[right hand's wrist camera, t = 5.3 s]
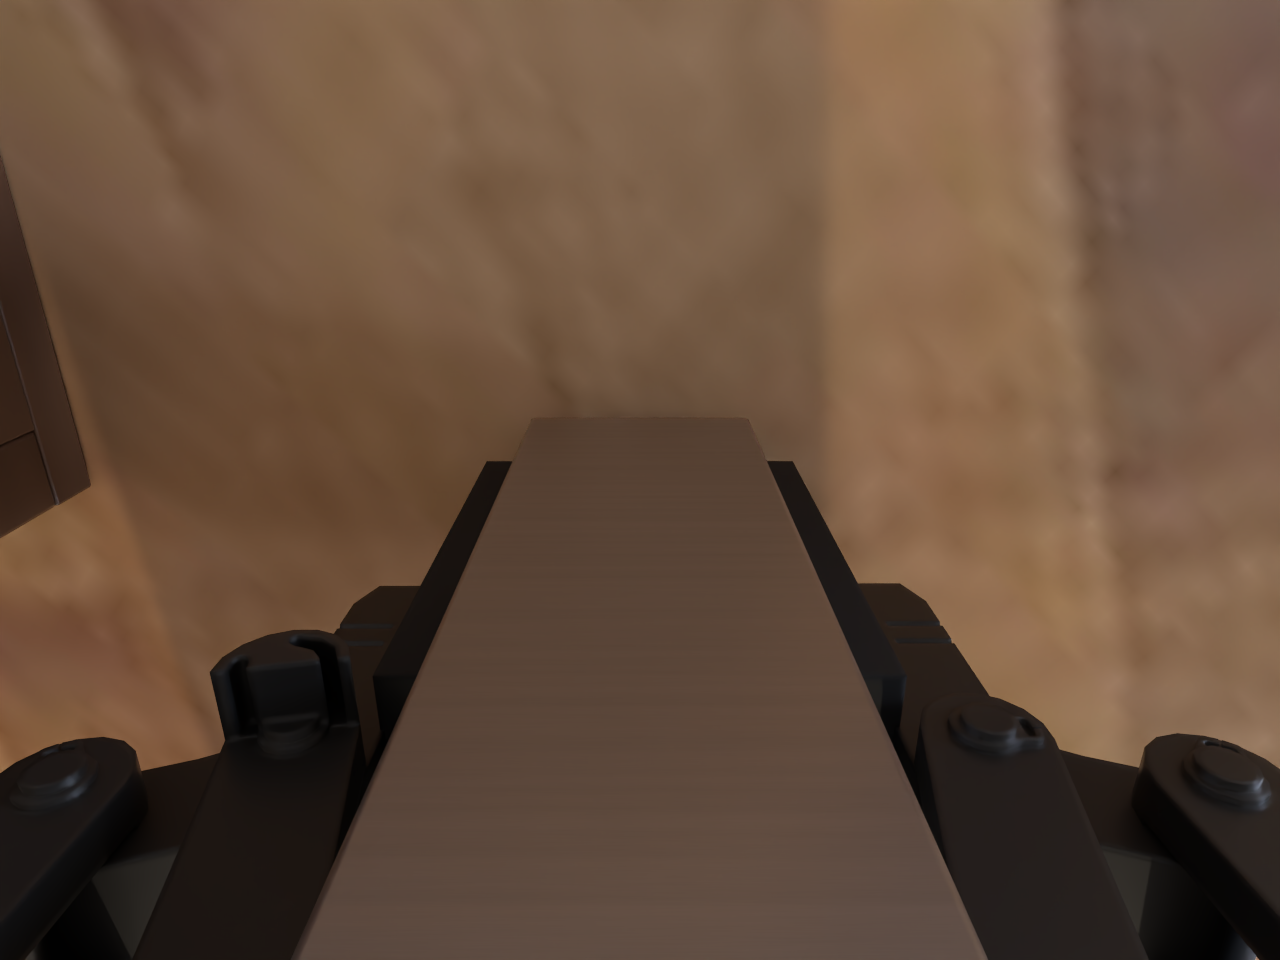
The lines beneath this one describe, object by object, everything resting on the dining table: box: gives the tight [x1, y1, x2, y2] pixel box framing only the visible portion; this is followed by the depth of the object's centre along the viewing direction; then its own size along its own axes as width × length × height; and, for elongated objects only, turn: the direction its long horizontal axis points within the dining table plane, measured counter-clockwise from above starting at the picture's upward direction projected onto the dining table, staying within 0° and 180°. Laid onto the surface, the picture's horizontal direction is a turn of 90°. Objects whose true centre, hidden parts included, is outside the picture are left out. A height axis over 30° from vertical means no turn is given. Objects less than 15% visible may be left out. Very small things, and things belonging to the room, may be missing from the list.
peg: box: [291, 418, 988, 960], centre depth 10 cm, size 4×4×12 cm
